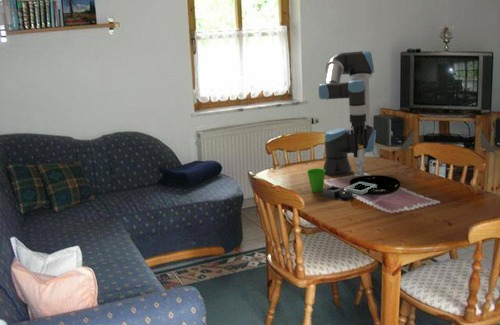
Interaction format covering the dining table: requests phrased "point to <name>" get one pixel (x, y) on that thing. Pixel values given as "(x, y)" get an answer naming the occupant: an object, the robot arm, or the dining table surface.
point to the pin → (360, 166)
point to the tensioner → (338, 193)
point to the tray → (350, 188)
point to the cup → (316, 179)
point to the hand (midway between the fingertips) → (359, 162)
